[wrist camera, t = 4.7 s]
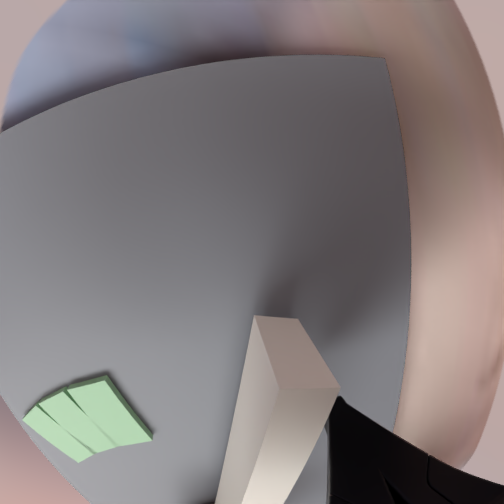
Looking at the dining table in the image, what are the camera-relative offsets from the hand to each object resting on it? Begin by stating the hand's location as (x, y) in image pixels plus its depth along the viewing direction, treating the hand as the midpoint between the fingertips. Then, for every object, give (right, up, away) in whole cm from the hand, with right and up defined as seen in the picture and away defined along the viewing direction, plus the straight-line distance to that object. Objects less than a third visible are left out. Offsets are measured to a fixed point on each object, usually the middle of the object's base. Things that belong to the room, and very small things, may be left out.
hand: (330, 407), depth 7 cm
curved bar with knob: (-3, -5, +2) cm, 6 cm away
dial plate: (-4, -2, +3) cm, 6 cm away
